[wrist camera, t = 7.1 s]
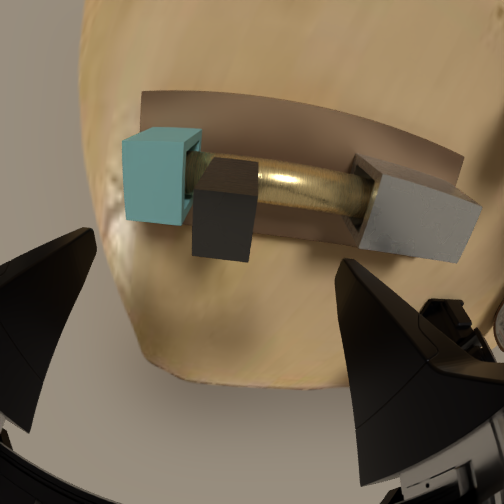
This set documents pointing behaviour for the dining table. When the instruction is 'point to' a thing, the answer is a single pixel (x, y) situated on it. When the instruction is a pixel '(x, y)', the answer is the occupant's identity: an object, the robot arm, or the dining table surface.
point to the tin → (499, 326)
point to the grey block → (412, 213)
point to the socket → (158, 174)
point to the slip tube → (259, 197)
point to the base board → (293, 147)
